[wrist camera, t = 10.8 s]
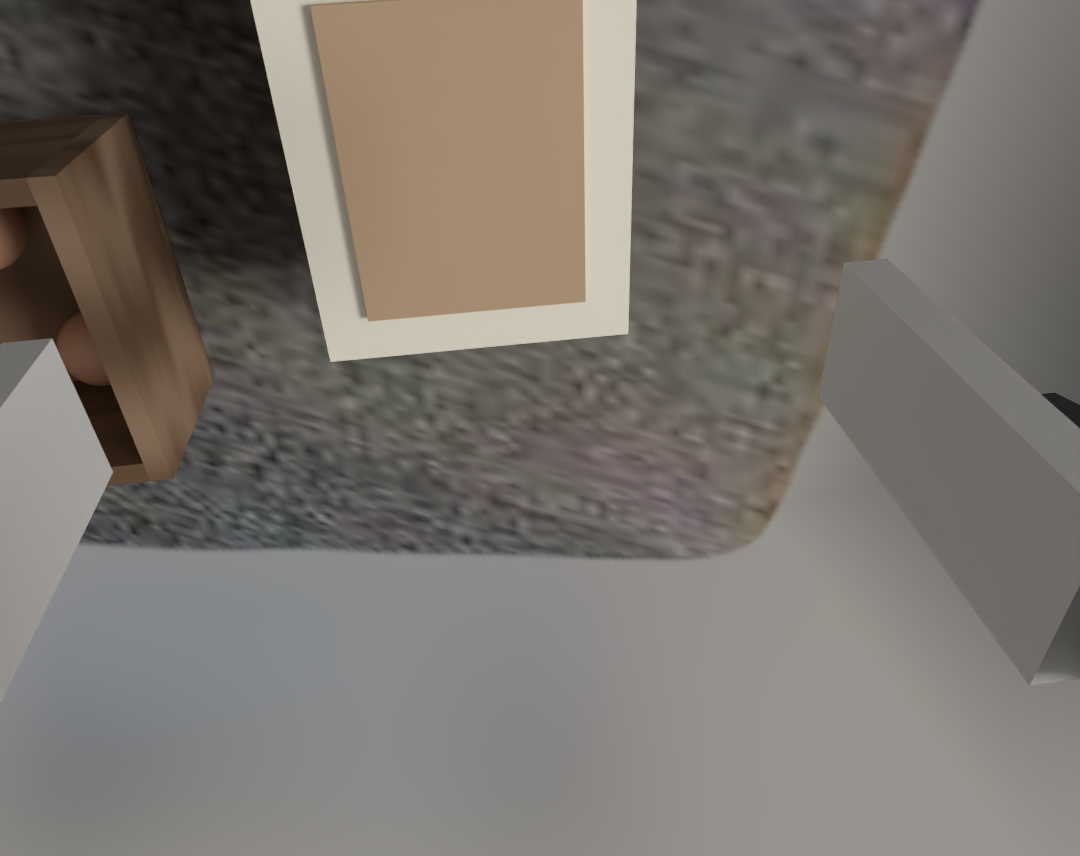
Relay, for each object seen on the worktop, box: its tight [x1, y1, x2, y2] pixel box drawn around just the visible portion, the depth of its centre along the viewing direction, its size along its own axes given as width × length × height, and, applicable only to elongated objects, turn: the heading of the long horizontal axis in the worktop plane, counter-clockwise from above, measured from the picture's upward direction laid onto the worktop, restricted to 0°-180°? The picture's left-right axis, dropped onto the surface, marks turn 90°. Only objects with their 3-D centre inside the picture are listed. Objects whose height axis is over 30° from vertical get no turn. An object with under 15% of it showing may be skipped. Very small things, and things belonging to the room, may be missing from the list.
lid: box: [250, 0, 637, 362], centre depth 25 cm, size 12×10×3 cm
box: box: [0, 112, 214, 486], centre depth 29 cm, size 11×9×7 cm
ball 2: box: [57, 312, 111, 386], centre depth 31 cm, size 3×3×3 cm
